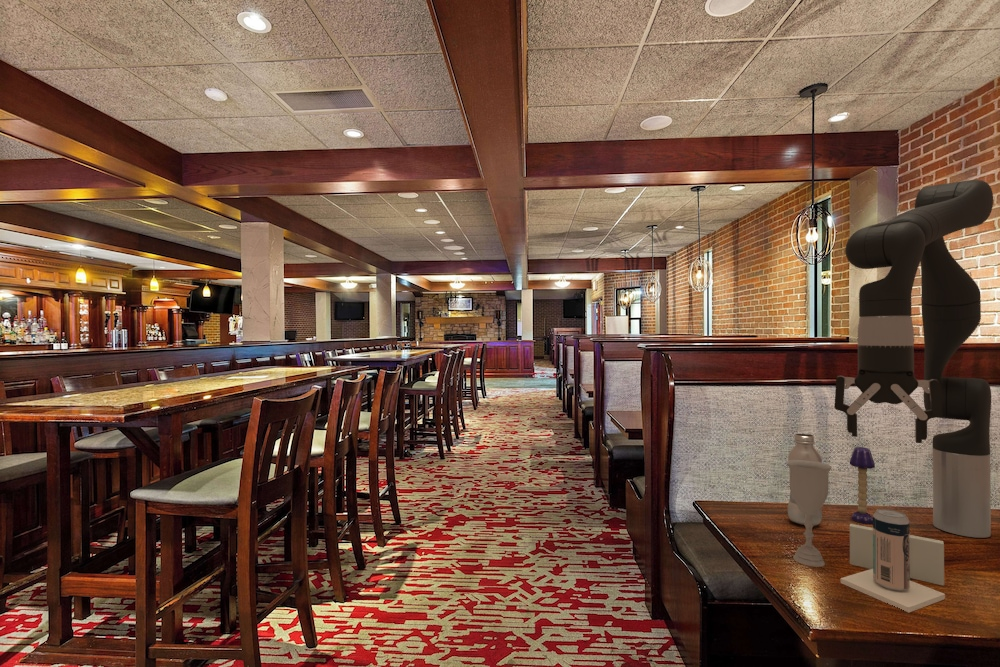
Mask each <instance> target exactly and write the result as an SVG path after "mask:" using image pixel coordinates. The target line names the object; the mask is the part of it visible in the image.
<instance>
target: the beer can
mask: <svg viewBox="0 0 1000 667" xmlns="http://www.w3.org/2000/svg"><path fill="white" fill-rule="evenodd" d="M872 517H873V524H872V528H873V580H874V581H875V582H876V583H878V584H879V585H880V586H882V587H884V588H887V589H890V590H894V591H904V590H908V589H909V588H910V581H911V578H910V535H911V534H910V523H911V522H910V520H909V518H908V516H907V514H906V513H903V512H902V511H897V510H894V509H889V508H878V509H876V510H875V512H874V513H873V515H872Z"/></svg>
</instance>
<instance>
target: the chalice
mask: <svg viewBox="0 0 1000 667" xmlns="http://www.w3.org/2000/svg"><path fill="white" fill-rule="evenodd" d="M786 465H787V466H788V468H789V492H790V491H791V493H792V496H793V499H794V500H795V502H796V504H797V506H798V508H799V510H800V511H801V512H803V513H805V516H806V520H805V523H804V525H803V526H804V527H805V531H804V532H803V533H802V534H803V535H804V537H805V542H804V543H803V544H802V545H800V546H799V547H797V550H796V551H795V554H794V556H793V560H794V561H796V562H797V563H799V564H801V565H804V566H808V567H817V568H818V567H819V568H820V567H824V566H825V565H826V562H825V561H824V558H823V556H822V554H821V551H820V550H819V549H818V548H817V547H815V546H814V544H813V538H814V537H815V534H814V533H813V531H812V530H813V527H815V526H814V525H813V523H812V515H814V514H818V512H819V511H820V509H821V510H822V507H823V506H824V505H825V503H826V500H827V498H828V496H829V473H830V472H831V469H833V468H832V465H830V464H827V463H823V462H822V463H820V462H815V461H806V460H789V461H788V460H786Z"/></svg>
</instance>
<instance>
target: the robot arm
mask: <svg viewBox="0 0 1000 667" xmlns="http://www.w3.org/2000/svg"><path fill="white" fill-rule="evenodd" d="M993 205H994V194H993V190H992V187H991V185H990V184H989V182H986V181H984V180H980V179H969V180H967V179H966V180H962V181H956V182H947V183H940V184H935V185H928V186H925V187H923V188H921V189H919V191H918V192H917V194H916V196H915V200H914V208H912V209H909V210H906V211H904V212H902V213H899V215H897V216H895V217H893V218H892V219H889V220H887V221H886V220H885V221H883V222H879V223H876V224H872V225H868V226H865V227H862V228H860V229H858V230H856V231H855V232H854V233H852V234H851V236H850V237H849V238H848V240H847V242H846V245H845V256H846V259H847V260H848V262H849V263H850V264H851V265H852V266H854V267H855V268H858V269H861V270H872V269H873V270H874V269H880V268H889V267H890V270H889V271H888V273H887V274H886V275H885V276H884V277H883V278H881V279H879V280H875V281H871V282H867V283H865V284H863V285H861V287H860V288H859V291H858V314H859V315H858V317H859V318H858V326H857V337H856V338H857V339H856V340H857V375H856V377H852V376H851V377H848V376H843V375H837V377H836V379H835V392H834V406H833V407H834V409H835V410H837V411H839V412H843V413H845V414H846V430H847V433H849V434H851V436H852V437H856V438H857V437H858V414H857V412H858V411H859V410H860V409H861V408H862V407H863V406H865V404H866V403H867V402H868V401H870V402H872V403H873V404H884V403H885V404H890V405H898V404H901V403H904V404H905V405H906V406H907V408H908V409H909V410H910V411H911V412H912V413H913V414H914V415H915V416H916V418H914V419H915V420H914V425H915V427H914V432H915V433H914V434H915V435H914V436H915V437H914V438H915V443H916V444H922V443H923V441H926V440H927V438H928V421H929V420H931V419H936V418H937V419H947V420H957V421H958V420H960V421H968V422H969V424H968V425H967V426H966V427H963V428H961V429H958V430H955V431H950V432H949V431H948V432H944V433H939V434H936V435H933V436H932V437H933V438H932V523H933V524H932V525H933V527H935V528H937V529H939V530H942V531H944V532H946V533H950V534H954V535H958V536H963V537H966V538H967V537H968V538H976V539H977V538H978V539H982V538H983V539H985V538H989V537H991V536H992V532H991V530H992V528H991V524H992V522H991V520H992V519H991V513H992V512H991V511H992V510H991V509H992V506H991V504H992V503H991V501H992V500H991V493H992V492H991V445H990V438H991V437H990V427H991V426H990V424H991V411H992V388H991V385H990V384H989V381H987V380H985V379H984V378H977V377H957V376H956V377H954V376H943V373H944V371H945V368H946V366H947V364H948V363H949V361H950V360H951V358H952V357H953V355H954V354H955V353H956V352H957V351H958V349H960V347H961V346H962V345H963V344H964V343H965V342H966V341H967V340H968V339H969V338H970V337H971V335H972V334H973V333H974V332H975V330H976V329H977V328H978V327H979V324H980V323H981V319H982V313H981V311H982V309H981V308H982V307H981V306H982V304H981V300H982V299H981V291H980V287H979V286H978V283H976V281H975V280H974V279H973V277H972V276H971V275H970V274H969V273H968V272H967V271H966V270H965V269H964V268H963V267H962V266H961V264H959V263H958V262H957V260H956V259H955V258H954V256H952V254H951V252H950V251H949V249H948V247H947V245H946V241H945V238H944V237H945V236H947V235H950V234H953V233H955V232H959V231H961V230H964V229H969V228H974V227H978V226H980V225H983V224H984V223H985V222H986V221H987V220H988V219H989V218H990V215H991V213H992V210H993ZM919 266H920V274H921V276H920V277H921V278H920V279H921V282H920V283H921V287H920V288H921V297H920V298H921V299H920V300H921V301H920V302H921V317H922V318H921V319H922V320H921V321H922V330H923V342H924V363H923V364H924V367H923V368H924V369H923V371H924V372H923V379H921V380H920V379H917V378H916V377H915V352H914V351H915V346H914V344H915V336H914V335H915V332H914V325H913V324H914V323H913V320H912V319H913V318H912V293H913V292H912V291H913V287H914V283H915V279H916V276H917V272H918V268H919ZM853 384H855V386H856V387H857V389H859V390H860V392H861V394H859V396H858V397H857V398H856V399H855V400H854V401H853V402H852V403H851V404H850V405H848V404H846V403H845V402H844V400H845V399H844V398H845V390H848V389H850V387H851V385H853ZM918 387H921V388H922V391H923V405H924V409H925V410H923V408H921V406H920V405H919V404H918V403H917V402H916V401H915V399H913V398H912V396H911V394H913V392H914V391H915V390H916V389H917V388H918ZM922 440H923V441H922Z"/></svg>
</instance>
